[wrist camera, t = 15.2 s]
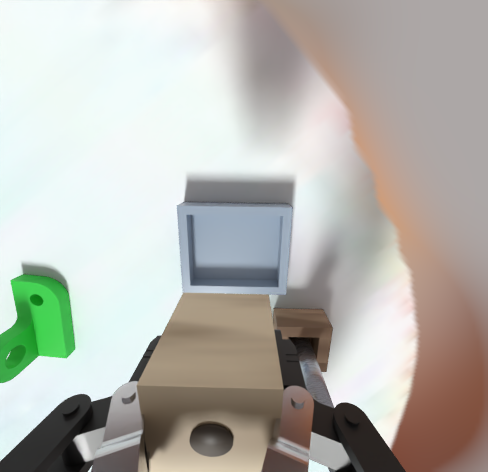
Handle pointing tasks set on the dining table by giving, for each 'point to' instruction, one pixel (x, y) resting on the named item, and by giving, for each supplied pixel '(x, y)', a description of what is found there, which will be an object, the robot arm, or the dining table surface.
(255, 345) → the block
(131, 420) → the robot arm
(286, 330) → the wooden square socket
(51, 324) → the mechanical part
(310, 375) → the rod
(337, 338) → the dining table surface
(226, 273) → the tray
